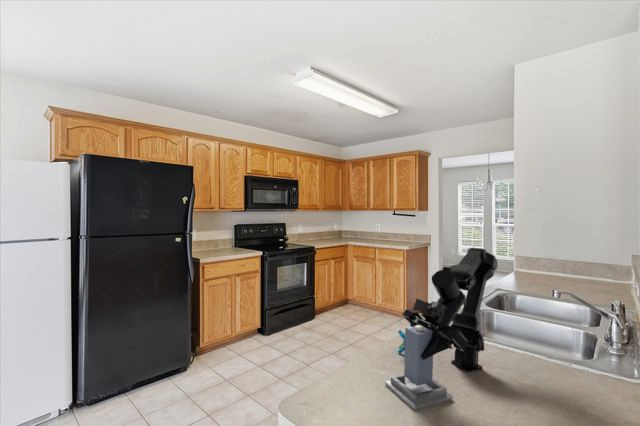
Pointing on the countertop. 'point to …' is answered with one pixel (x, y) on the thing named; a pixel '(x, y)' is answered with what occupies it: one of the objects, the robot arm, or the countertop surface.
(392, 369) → the countertop surface
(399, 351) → the gear
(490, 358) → the countertop surface
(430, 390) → the grey square tray
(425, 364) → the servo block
